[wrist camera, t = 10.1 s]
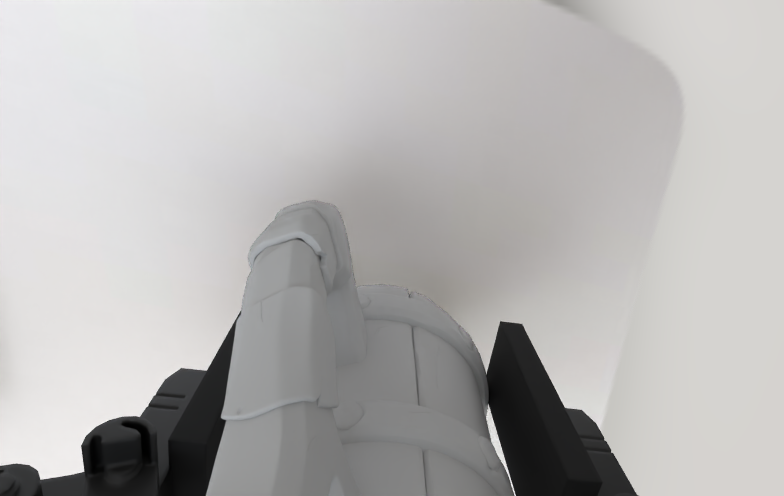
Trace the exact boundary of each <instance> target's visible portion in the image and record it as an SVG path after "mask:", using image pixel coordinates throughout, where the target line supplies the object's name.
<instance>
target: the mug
mask: <svg viewBox="0 0 784 496" xmlns="http://www.w3.org/2000/svg"><path fill="white" fill-rule="evenodd" d="M248 260H249V264H250V267H251V270H252V271H251V272H250V274H249V276H248V279H247V283H246V287H245V291H244V296H243V302H242V310H241V315H240V317H239V318H238V319H237V322H236V329H235V337H234V344H233V351H232V357H231V364H230V370H229V376H228V382H227V389H226V396H225V402H224V407H223V411H222V414H221V418H222V419H224V420H226V424H225V428H224V431H223V435H222V438H221V441H220V445H219V448H218V452H217V455H216V459H215V463H214V467H213V471H212V475H211V479H210V482H209V486H208V490H207V493H206V496H514V493H513V490H512V487H511V483H510V480H509V477H508V474H507V472H506V470H505V468H504V466H503V464H502V462H501V460H500V459H499V457H498V455H497V453H496V451H495V448H494V446H493V445H492V443H491V438H490V434H489V430H488V425H487V421H486V414H487V409H488V401H489V389H488V381H487V376H486V372H485V368H484V365H483V362H482V359H481V356H480V353H479V352H478V350H477V348H476V346H475V344H474V342H473V341H472V339H471V337H470V335H469V334H468V333H467V332H466V331H465V330H464V329H463V328H462V327H461V326H460V325H459V324H458V323H457V322H456V321H455V320H454V319H453V318H452V317H451V316H450V315H448V314H447V313H446V312H445V311H444V310H443V309H441V308H440V307H438V306H437V305H436V304H435V303H434V302H432V301H431V300H430V299H429V298H427V297H425V296H423V295H421V294H418V293H416V292H414V291H413V292H412V293H411V294H410V295H409V293H408V289H406V288H402V287H397V286H390V285H365V286H359V287H356V284H355V279H354V274H353V270H352V261H351V255H350V249H349V243H348V238H347V233H346V229H345V225H344V222H343V219H342V217H341V214H340V212H339V210H338V209H337V207H336V206H334V205H332V204H328V203H323V202H319V201H306V202H302V203H298V204H294V205H290V206H288V207H285V208H283V209H282V210H280V211H279V212H278V213H277V215H276V217H275V220H274V221H273V222H271V223H270V225H269V226H268V227H267V228H266V229H265V231H264V232H263V233H262V234H261V235H260V236H259V237H258V238H257V239H256V240H255V242H254V243H253V245H252V246H251V249H250V251H249V255H248Z"/></svg>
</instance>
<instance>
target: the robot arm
mask: <svg viewBox="0 0 784 496" xmlns="http://www.w3.org/2000/svg"><path fill="white" fill-rule="evenodd" d="M240 315H241V311H240V313H239V315H238V317H237V319H238V318H239V317H240ZM237 319H236V320H235V322H234V324H233V326H232V327H231V329H230V331H229V333H228V334H227V336H226V338H225V340H224V342H223V343H222V345H221V347H220V349H219V350H218V352H217V354H216V356H215V357H214V359H213V361H212V363H211V365H210V366H209V368H208V370H207V371H203V370H193V369H184V368H181V369H180V370H178V371H177V372H175V373H174V374H172V375H171V376H170V377H168V378H167V379H165V381H164V382H163V384H162V385H161V387H160V388H159V390H158V391H157V393H156V396H154V397H153V399H152V400H151V402H150V403H149V406H148V407H146V409H145V410H144V412H143V413H142V415H141V416H140V417H137V416H132V417H120V418H116V419H113V420H109V421H107V422H105V423H103V424H101V425H99V426H97V427H96V428H94V429H93V430H92V431H91V432H90V433H89V434H88V435H87V436H86V437H85V439H84V441H83V443H82V445H81V447H82V455H83V463H84V471H85V472H82V473H78V474H74V475H69V476H62V477H56V478H50V479H44V480H40V477H39V474H38V471H37V470H36V469H34V468H33V467H31V466H30V465H23V464H11V465H4V466H0V496H206V493H207V490H208V486H209V482H210V479H211V475H212V471H213V467H214V463H215V459H216V455H217V452H218V448H219V445H220V441H221V438H222V435H223V431H224V428H225V424H226V420H224V419H222V418H221V414H222V411H223V407H224V402H225V396H226V389H227V382H228V376H229V370H230V364H231V357H232V351H233V344H234V337H235V329H236V322H237ZM486 376H487V381H488V389H489V401H488V403H489V407H490V410H491V413H492V417H493V420H494V423H495V427H496V430H497V434H498V437H499V440H500V444H501V447H502V450H503V454H504V457H505V460H506V464H507V467H508V470H509V474H510V477H511V481H512V484H513V487H514V491H515V494H516V496H638V495H637V494H636V492H635V491H634V489H633V487H632V485H631V484H630V482H629V480H628V479H627V477H626V475H625V473H624V471H623V470H622V468H621V466H620V465H619V463H618V461H617V459H616V458H615V456H614V454H613V453H611V449H610V447H609V445H608V444H607V442H606V441H604V437H603V435H602V433H601V431H600V430H599V428H598V426H597V424H596V423H595V422H594V421H593V420H592V419H591V418H590V417H589V416H588V415H586V414H585V413H584V412H583V411H582V410H577V409H568V408H565V407H564V405H563V403H562V402H561V400H560V398H559V396H558V394H557V392H556V390H555V388H554V386H553V384H552V382H551V380H550V378H549V376H548V374H547V372H546V370H545V368H544V366H543V364H542V362H541V360H540V359H539V357H538V355H537V353H536V351H535V349H534V347H533V345H532V343H531V341H530V339H529V337H528V335H527V333H526V331H525V329H524V327H523V325H522V324H517V323H509V322H501V321H500V325H499V328H498V332H497V336H496V340H495V344H494V348H493V352H492V355H491V359H490V363H489V367H488V371H487V375H486Z"/></svg>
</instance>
